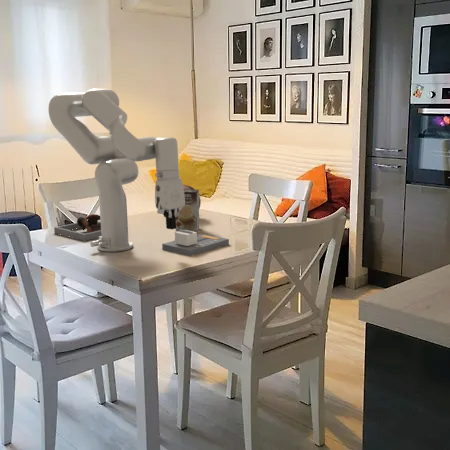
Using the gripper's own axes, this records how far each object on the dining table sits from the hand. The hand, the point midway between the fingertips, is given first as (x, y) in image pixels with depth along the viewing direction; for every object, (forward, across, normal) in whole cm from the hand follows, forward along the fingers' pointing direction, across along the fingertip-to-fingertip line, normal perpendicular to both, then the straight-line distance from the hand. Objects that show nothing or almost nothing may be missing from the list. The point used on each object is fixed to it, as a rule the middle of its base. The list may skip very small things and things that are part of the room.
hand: (171, 228), depth 202 cm
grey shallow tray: (+8, +2, +50) cm, 51 cm away
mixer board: (+9, +13, +1) cm, 16 cm away
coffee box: (+9, +31, +23) cm, 40 cm away
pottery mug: (+8, +4, +50) cm, 51 cm away
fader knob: (+7, +8, +1) cm, 10 cm away
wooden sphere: (+9, +45, +39) cm, 60 cm away
